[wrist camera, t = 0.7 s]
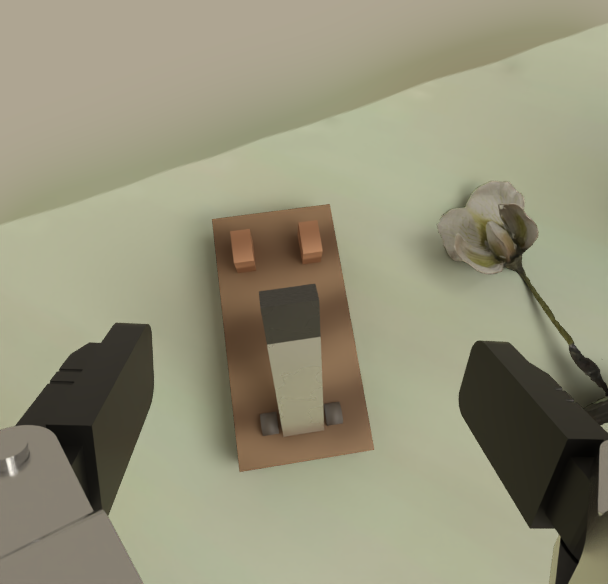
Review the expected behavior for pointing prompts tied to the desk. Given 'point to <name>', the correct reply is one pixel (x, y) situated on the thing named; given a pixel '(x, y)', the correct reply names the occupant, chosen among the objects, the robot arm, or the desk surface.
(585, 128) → the desk surface
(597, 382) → the artificial flower
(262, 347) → the lever base
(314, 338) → the lever
